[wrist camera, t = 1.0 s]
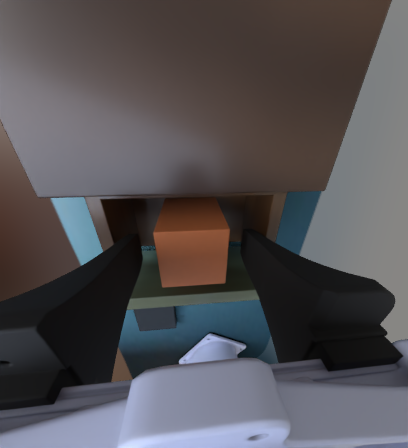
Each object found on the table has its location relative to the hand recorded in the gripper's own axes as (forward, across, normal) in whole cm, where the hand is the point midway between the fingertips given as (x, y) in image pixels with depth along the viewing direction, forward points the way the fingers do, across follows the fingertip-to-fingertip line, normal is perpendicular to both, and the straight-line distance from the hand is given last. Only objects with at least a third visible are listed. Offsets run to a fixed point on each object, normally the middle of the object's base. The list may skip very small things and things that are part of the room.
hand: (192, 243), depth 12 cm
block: (+4, 0, 0) cm, 4 cm away
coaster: (+6, +5, +15) cm, 17 cm away
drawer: (+5, 0, +1) cm, 5 cm away
